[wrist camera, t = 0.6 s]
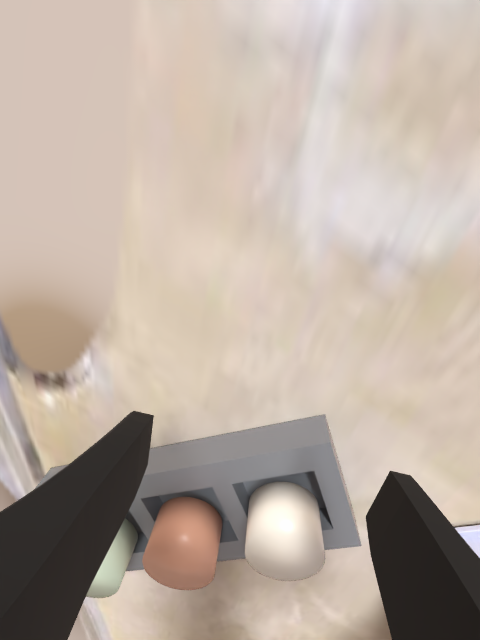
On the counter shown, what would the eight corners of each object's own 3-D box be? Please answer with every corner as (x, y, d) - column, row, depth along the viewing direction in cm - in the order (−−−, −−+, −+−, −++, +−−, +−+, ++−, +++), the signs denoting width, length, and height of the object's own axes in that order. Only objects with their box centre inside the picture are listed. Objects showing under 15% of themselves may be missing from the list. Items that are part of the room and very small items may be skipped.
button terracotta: (231, 537, 23) (225, 586, 20) (173, 544, 24) (160, 592, 21) (208, 492, 21) (198, 539, 18) (148, 501, 22) (129, 547, 19)
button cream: (325, 525, 21) (333, 577, 19) (260, 533, 22) (258, 583, 20) (309, 476, 20) (314, 524, 17) (239, 487, 21) (234, 534, 18)
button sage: (147, 547, 24) (131, 595, 21) (96, 554, 25) (74, 600, 22) (121, 506, 23) (99, 551, 20) (67, 514, 24) (39, 558, 21)
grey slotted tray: (353, 512, 24) (361, 545, 22) (105, 544, 28) (90, 575, 26) (324, 414, 21) (330, 442, 19) (51, 467, 25) (29, 495, 23)
